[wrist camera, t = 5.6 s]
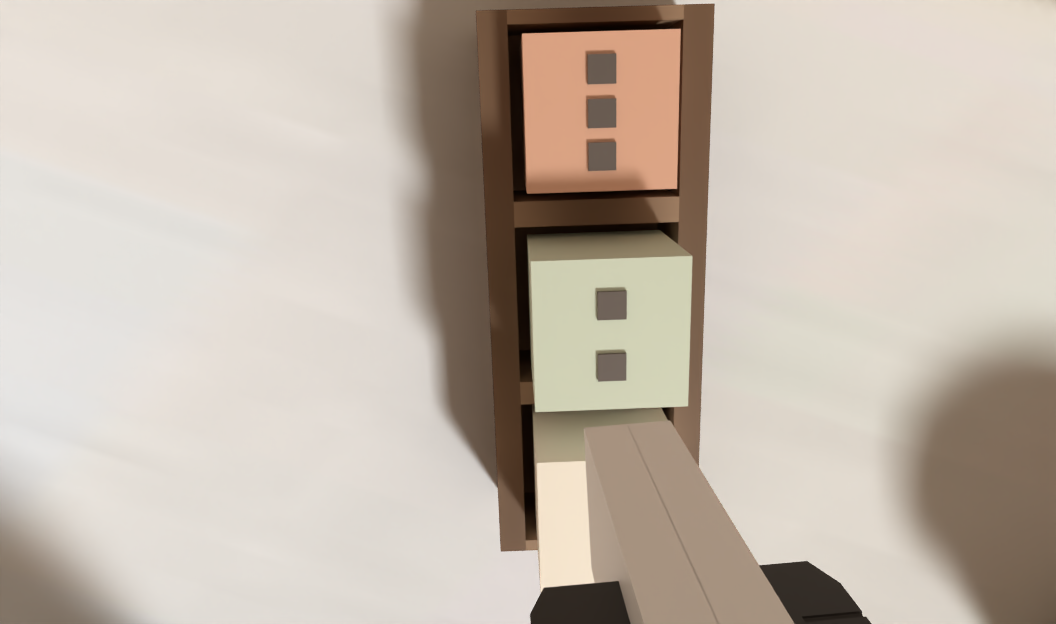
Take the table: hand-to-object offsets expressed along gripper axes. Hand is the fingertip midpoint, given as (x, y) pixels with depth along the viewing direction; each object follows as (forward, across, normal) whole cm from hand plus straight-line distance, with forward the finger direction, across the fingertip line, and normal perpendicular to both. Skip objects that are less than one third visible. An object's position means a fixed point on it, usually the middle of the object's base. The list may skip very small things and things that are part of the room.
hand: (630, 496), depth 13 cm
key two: (+13, +1, +1) cm, 13 cm away
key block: (+16, +1, +1) cm, 16 cm away
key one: (+13, +1, -5) cm, 14 cm away
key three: (+14, +1, +7) cm, 16 cm away
